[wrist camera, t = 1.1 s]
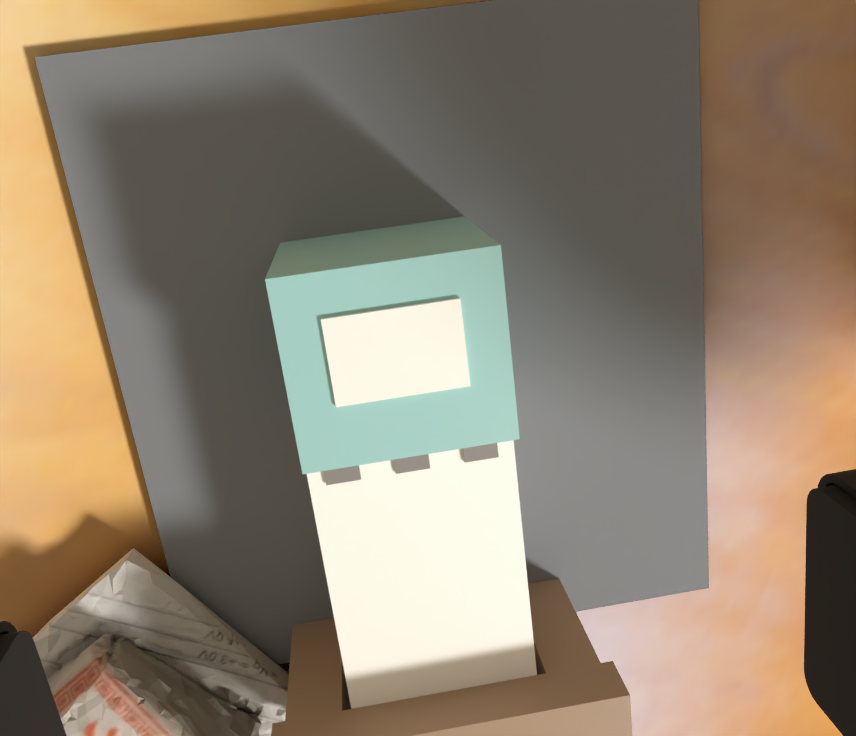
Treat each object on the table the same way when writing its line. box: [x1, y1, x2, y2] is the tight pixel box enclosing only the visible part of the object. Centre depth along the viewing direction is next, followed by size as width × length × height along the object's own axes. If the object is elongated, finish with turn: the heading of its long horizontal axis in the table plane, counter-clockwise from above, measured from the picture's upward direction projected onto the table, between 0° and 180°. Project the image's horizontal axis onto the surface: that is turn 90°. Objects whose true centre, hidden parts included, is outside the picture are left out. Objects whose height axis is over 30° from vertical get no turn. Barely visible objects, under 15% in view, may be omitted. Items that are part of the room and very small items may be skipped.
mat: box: [34, 0, 709, 664], centre depth 28 cm, size 20×22×1 cm
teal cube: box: [265, 216, 520, 474], centre depth 24 cm, size 6×5×6 cm
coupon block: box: [271, 440, 632, 736], centre depth 26 cm, size 11×12×7 cm
